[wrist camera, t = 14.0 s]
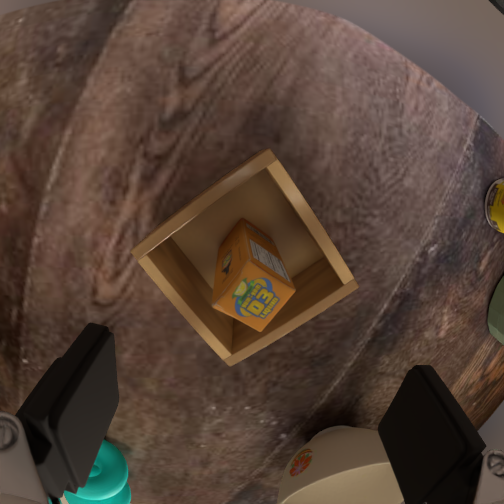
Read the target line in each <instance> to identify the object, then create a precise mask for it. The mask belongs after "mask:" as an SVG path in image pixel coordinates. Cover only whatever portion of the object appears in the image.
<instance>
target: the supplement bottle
mask: <svg viewBox="0 0 504 504" xmlns="http://www.w3.org/2000/svg"><path fill="white" fill-rule="evenodd" d="M485 213H486V218H487V220H488V222H489V224H490V225H491V227H493V228H494V229H495V230H497V231H500V232H502V233H504V179H498V180H497V181H495V182H494V183H493V184H492V185H491V186H490V188H489V190H488V192H487V195H486V199H485Z"/></svg>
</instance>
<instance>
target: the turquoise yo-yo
mask: <svg viewBox="0 0 504 504" xmlns="http://www.w3.org/2000/svg"><path fill="white" fill-rule="evenodd" d="M127 478H128V466H127V462H126V460H125V458H124V456H123V455H122V453H121V452H120V451H119V450H118V448H116V447H115V446H114V445H113V444H111V443H110V442H108V441H106V440H103V442H102V445H101V447H100V450H99V452H98V455H97V457H96V460H95V462H94V465H93V467H92V470H91V472H90V475H89V477H88V480H87V483H86V485H85V486H84V487H83V488H81V487H79V488H78V490H77V493H76V494H73V493H71V492H68V491H66V490H65V491H64V495H65V498H66V500H67V501H68V503H69V504H130V500H131V491H130V487H129V485H128V483H127Z"/></svg>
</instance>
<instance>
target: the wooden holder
mask: <svg viewBox="0 0 504 504" xmlns="http://www.w3.org/2000/svg"><path fill="white" fill-rule="evenodd" d="M241 218H244V219H246V220H247V221H249V222H250V223H251V224H253V225H254V226H256V227H257V228H258V229H260V230H261V231H262V232H264V233H265V234H266V235H268V236H269V237H270V238H272V239H273V241H274V243H275V245H276V247H277V249H278V252H279V254H280V256H281V258H282V260H283V262H284V265H285V267H286V269H287V271H288V273H289V276H290V278H291V280H292V282H293V284H294V287H295V289H296V291H295V293H294V294H293V295H292V296H291V297H290V298H289V300H288V301H287V302H286V303H285V305H284V306H283V307H282V308H281V309H280V310H279V312H278V313H277V314H276V315H275V316H274V317H273V319H272V320H271V321H270V322H269V323H268V324H267V326H266V327H265V328H264V329H263V330H262V331H261V332H259V331H257V330H255V329H254V328H252V327H250V326H248V325H246V324H245V323H243V322H241V321H239V320H237V319H235V318H233V317H231V316H229V315H227V314H225V313H223V312H221V311H219V310H217V309H215V308H213V307H212V296H213V287H214V278H215V269H216V262H217V254H218V249H219V247H220V245H221V244H222V243H223V241H224V240H225V238H226V237H227V236H228V234H229V233H230V231H231V230H232V229H233V227H234V226H235V225H236V223H237V222H238V221H239V220H240V219H241ZM131 253H132V254H133V256H134V257H135V258H136V259H137V260H138V262H139V264H140V265H141V266H142V267H143V269H144V270H145V271H146V272H147V274H148V275H149V276H150V277H151V278H152V280H153V281H154V282H155V283H156V285H157V286H158V287H159V288H160V289H161V291H162V292H163V293H164V294H165V295H166V297H167V298H168V299H169V300H170V301H171V302H172V304H173V305H174V306H175V307H176V308H177V309H178V311H179V312H180V313H181V314H182V315H183V316H184V318H185V319H186V320H187V321H188V322H189V323H190V324H191V325H192V327H193V328H194V329H195V330H196V331H197V332H198V333H199V334H200V336H201V337H202V338H203V339H204V340H205V341H206V342H207V343H208V344H209V345H210V347H211V348H212V349H213V350H214V351H215V352H216V353H217V354H218V355H219V356H220V357H221V358H222V359H223V360H224V361H225V362H226V363H227V364H228V365H229V366H232V365H234V364H236V363H238V362H239V361H241V360H243V359H245V358H246V357H248V356H250V355H252V354H253V353H255V352H257V351H259V350H260V349H262V348H264V347H266V346H267V345H269V344H271V343H272V342H274V341H276V340H277V339H279V338H281V337H282V336H284V335H286V334H287V333H289V332H291V331H292V330H294V329H295V328H297V327H299V326H300V325H302V324H303V323H305V322H307V321H308V320H310V319H311V318H313V317H315V316H316V315H318V314H319V313H321V312H322V311H324V310H325V309H327V308H329V307H330V306H332V305H333V304H335V303H336V302H338V301H339V300H341V299H342V298H344V297H345V296H347V295H348V294H350V293H351V292H353V291H354V290H356V289H357V288H358V287H359V285H358V284H357V282H356V280H355V279H354V277H353V275H352V273H351V272H350V270H349V268H348V267H347V265H346V263H345V262H344V260H343V258H342V257H341V255H340V254H339V252H338V250H337V249H336V247H335V245H334V244H333V242H332V241H331V239H330V237H329V236H328V234H327V233H326V231H325V229H324V228H323V226H322V225H321V223H320V222H319V220H318V219H317V217H316V215H315V214H314V212H313V211H312V209H311V208H310V206H309V205H308V203H307V202H306V200H305V199H304V197H303V196H302V194H301V193H300V191H299V190H298V188H297V187H296V185H295V184H294V182H293V181H292V179H291V178H290V176H289V175H288V173H287V172H286V170H285V169H284V167H283V166H282V164H281V163H280V162H279V160H278V159H277V157H276V156H275V155H274V153H273V152H272V150H271V149H270V148H269V149H264V150H261V151H260V152H258V153H257V154H255V155H254V156H252V157H251V158H249V159H248V160H247V161H245V162H244V163H242V164H241V165H239V166H238V167H236V168H235V169H234V170H232V171H231V172H229V173H228V174H227V175H225V176H224V177H222V178H221V179H220V180H218V181H217V182H215V183H214V184H213V185H211V186H210V187H209V188H207V189H206V190H204V191H203V192H202V193H200V194H199V195H198V196H196V197H195V198H194V199H192V200H191V201H190V202H188V203H187V204H186V205H184V206H183V207H182V208H180V209H179V210H178V211H176V212H175V213H174V214H172V215H171V216H170V217H169V218H167V219H166V220H165V221H163V222H162V223H161V224H160V225H158V226H157V227H156V228H155V229H154V230H153V231H151V232H150V233H149V234H148V235H147V236H146V237H145V238H144V239H143V240H142V241H140V242H139V243H138V244H137V245H136V246H135V247H134V248H133V249H132V250H131Z"/></svg>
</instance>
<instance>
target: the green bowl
mask: <svg viewBox="0 0 504 504" xmlns="http://www.w3.org/2000/svg"><path fill="white" fill-rule="evenodd" d="M487 321H488V326H489V331H490V334H491V335H493V336H494V337H495V338H496V339H497V340H498V341H499V342H500V343H501V344H502V345H504V276H503V277H502V279H501V281H500V282H499V284H498V285H497V287H496V289H495V292H494V295H493V298H492V300H491V303H490V305H489V313H488V320H487Z"/></svg>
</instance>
